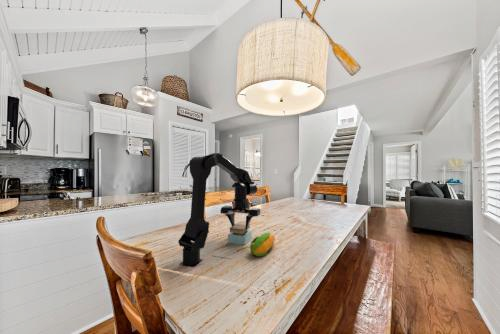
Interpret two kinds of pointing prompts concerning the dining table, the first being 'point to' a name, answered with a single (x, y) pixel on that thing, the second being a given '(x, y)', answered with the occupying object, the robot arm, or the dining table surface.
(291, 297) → the dining table surface
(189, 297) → the dining table surface
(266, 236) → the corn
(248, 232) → the dish
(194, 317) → the dining table surface
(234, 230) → the board
